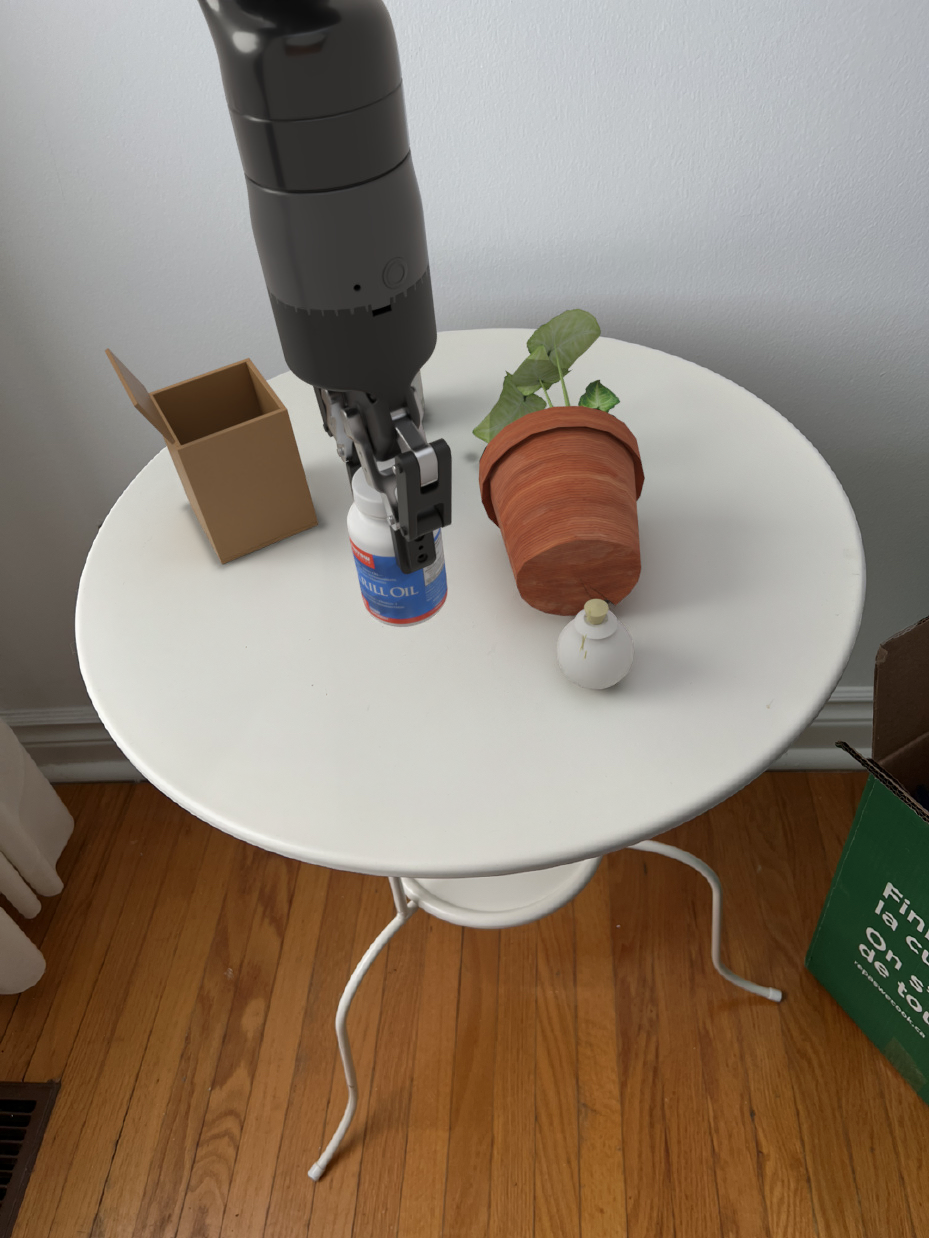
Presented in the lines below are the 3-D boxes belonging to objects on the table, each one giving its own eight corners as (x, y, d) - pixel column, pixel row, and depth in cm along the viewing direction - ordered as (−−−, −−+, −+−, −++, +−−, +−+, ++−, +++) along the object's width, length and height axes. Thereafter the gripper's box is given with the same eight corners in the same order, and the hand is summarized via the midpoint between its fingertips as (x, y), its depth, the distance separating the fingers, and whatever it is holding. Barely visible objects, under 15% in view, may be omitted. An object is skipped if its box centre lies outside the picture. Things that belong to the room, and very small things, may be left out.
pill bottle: (349, 618, 57) (318, 498, 50) (386, 561, 61) (363, 440, 54) (428, 639, 56) (408, 518, 49) (462, 579, 59) (449, 457, 52)
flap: (175, 442, 77) (172, 445, 77) (144, 386, 83) (141, 389, 83) (137, 403, 73) (133, 406, 73) (107, 347, 79) (104, 350, 79)
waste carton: (222, 564, 87) (177, 450, 77) (191, 506, 93) (145, 393, 83) (318, 524, 90) (287, 409, 80) (282, 471, 96) (249, 357, 86)
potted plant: (668, 631, 79) (604, 374, 100) (676, 509, 67) (602, 246, 88) (488, 654, 80) (463, 395, 101) (465, 539, 68) (441, 272, 89)
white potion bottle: (640, 656, 75) (648, 570, 68) (615, 726, 71) (621, 643, 64) (569, 639, 77) (569, 553, 70) (541, 707, 73) (538, 623, 65)
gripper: (219, 226, 45) (293, 492, 58) (329, 359, 36) (388, 639, 49) (358, 185, 47) (400, 451, 60) (495, 301, 38) (511, 585, 51)
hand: (395, 534), depth 54 cm, fingers closed on pill bottle, 5 cm apart
